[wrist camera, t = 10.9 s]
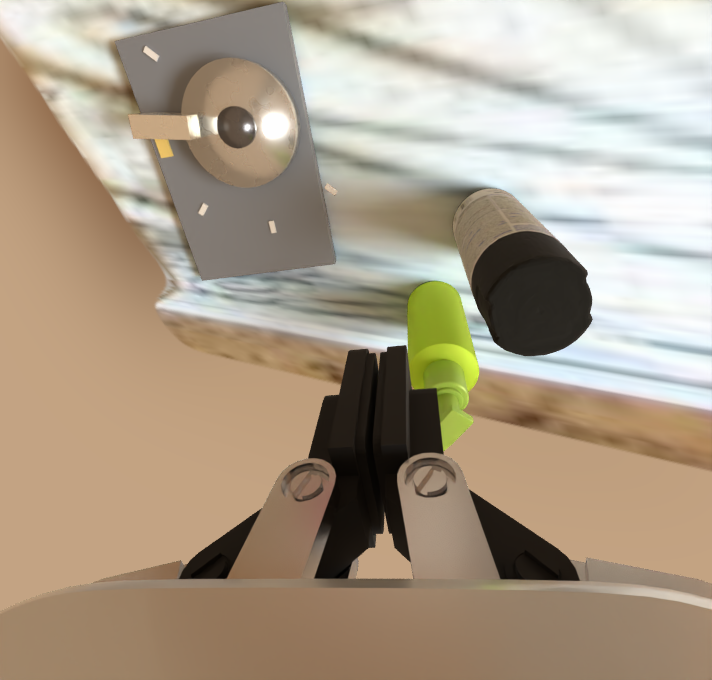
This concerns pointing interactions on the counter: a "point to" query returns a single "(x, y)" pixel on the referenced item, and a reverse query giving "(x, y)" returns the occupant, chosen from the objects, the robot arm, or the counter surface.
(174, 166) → the board
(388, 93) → the counter surface
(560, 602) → the robot arm
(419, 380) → the soap dispenser
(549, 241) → the spray can
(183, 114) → the dial
